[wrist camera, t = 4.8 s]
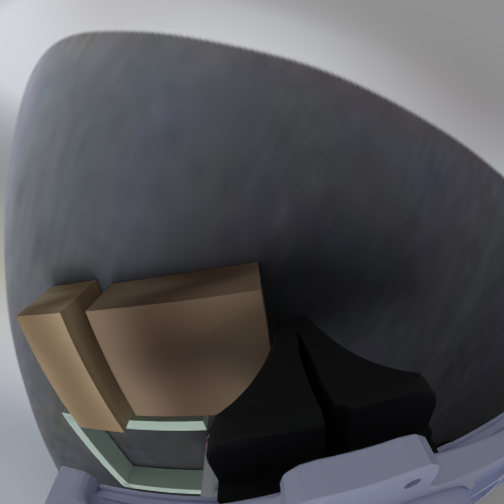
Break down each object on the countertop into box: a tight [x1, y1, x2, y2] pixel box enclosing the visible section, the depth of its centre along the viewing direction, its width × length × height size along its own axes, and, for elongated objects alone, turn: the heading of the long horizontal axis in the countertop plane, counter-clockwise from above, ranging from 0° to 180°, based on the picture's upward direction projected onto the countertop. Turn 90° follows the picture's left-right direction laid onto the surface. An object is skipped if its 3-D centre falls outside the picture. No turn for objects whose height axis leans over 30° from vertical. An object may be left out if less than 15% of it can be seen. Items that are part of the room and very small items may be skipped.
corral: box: [61, 407, 209, 494], centre depth 15 cm, size 10×10×2 cm
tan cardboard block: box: [85, 262, 271, 416], centre depth 12 cm, size 7×6×3 cm
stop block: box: [17, 280, 133, 432], centre depth 12 cm, size 3×7×4 cm, turn 9°
